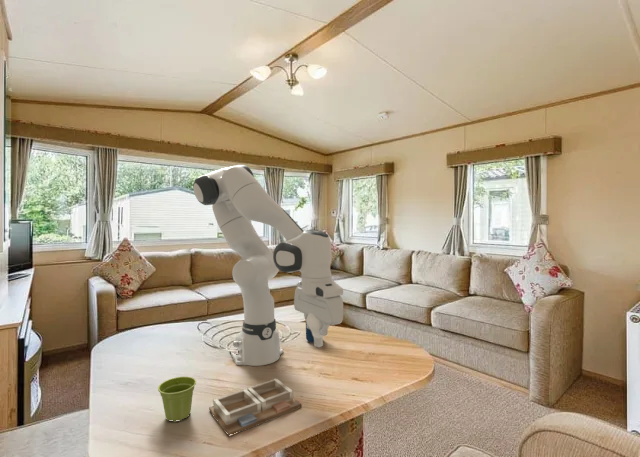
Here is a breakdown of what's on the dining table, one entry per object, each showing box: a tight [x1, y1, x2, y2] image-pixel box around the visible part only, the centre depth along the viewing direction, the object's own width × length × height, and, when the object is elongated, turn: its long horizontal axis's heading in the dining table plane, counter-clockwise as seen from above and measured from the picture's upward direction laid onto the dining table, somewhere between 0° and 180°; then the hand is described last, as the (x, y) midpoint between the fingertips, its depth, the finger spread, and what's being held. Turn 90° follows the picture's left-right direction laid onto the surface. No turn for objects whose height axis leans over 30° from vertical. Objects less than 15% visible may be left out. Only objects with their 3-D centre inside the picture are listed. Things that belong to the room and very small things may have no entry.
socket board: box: [208, 378, 303, 436], centre depth 96 cm, size 14×21×4 cm, turn 126°
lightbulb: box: [305, 313, 324, 349], centre depth 103 cm, size 6×6×11 cm
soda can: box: [305, 322, 314, 344], centre depth 147 cm, size 7×7×12 cm
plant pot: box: [157, 376, 197, 421], centre depth 94 cm, size 9×9×9 cm
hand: (316, 331), depth 103 cm, fingers closed on lightbulb, 5 cm apart
